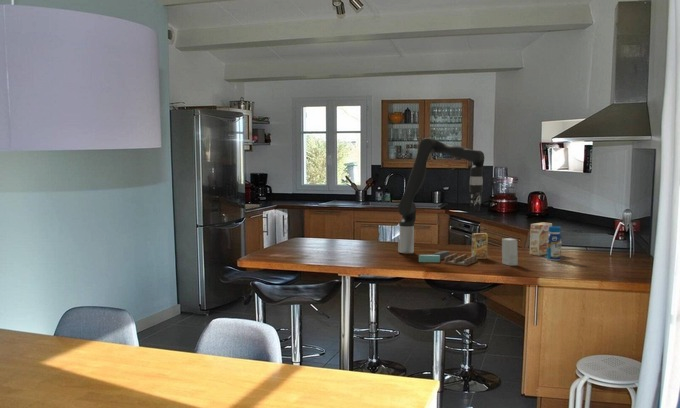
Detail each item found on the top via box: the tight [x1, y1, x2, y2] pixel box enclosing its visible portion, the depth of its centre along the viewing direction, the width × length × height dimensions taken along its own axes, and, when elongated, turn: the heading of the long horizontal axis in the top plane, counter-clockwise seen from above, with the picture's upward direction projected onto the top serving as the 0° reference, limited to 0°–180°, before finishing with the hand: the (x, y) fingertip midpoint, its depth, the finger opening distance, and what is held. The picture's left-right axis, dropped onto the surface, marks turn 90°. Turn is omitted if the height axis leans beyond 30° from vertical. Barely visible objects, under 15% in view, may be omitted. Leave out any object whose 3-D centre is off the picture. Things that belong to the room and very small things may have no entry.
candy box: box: [470, 232, 489, 260], centre depth 358 cm, size 9×4×15 cm, turn 107°
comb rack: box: [443, 252, 478, 267], centre depth 346 cm, size 18×14×4 cm
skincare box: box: [501, 237, 519, 266], centre depth 340 cm, size 8×6×15 cm
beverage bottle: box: [546, 225, 563, 262], centre depth 355 cm, size 8×8×20 cm
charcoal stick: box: [433, 250, 451, 261], centre depth 358 cm, size 12×4×4 cm, turn 137°
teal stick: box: [418, 254, 441, 263], centre depth 347 cm, size 12×4×4 cm, turn 88°
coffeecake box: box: [529, 221, 553, 257], centre depth 376 cm, size 15×7×20 cm, turn 131°
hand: (475, 211), depth 352 cm, fingers open, 8 cm apart
